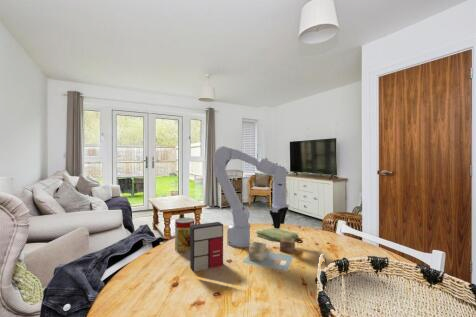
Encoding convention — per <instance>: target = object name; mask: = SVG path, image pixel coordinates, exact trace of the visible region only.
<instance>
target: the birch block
mask: <svg viewBox="0 0 476 317" xmlns="http://www.w3.org/2000/svg"><path fill="white" fill-rule="evenodd" d="M266 252H267V243H263V242H258V241H252V243H250V245H249V246H248V256H249V260H253V261H259V262H263V260H264V259H265V258H266Z"/></svg>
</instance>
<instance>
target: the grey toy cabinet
mask: <svg viewBox="0 0 476 317" xmlns="http://www.w3.org/2000/svg"><path fill="white" fill-rule="evenodd" d="M189 252H190V253H189V254H190V255H189V258H190V260H189V263H190V264H189V267H190V270H191V271H192V272H198V271H203V270H208V269H213V268H218V267H221V266H224V224H223V223H222V222H220V221H214V222H208V223H207V222H206V223H198V224H194V225H191V226H190V251H189Z"/></svg>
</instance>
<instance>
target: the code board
mask: <svg viewBox="0 0 476 317" xmlns="http://www.w3.org/2000/svg"><path fill="white" fill-rule="evenodd" d="M293 259H294V255H290V254H283V253H277V252H270V251H266V258H265V259H264V260H263V262H259V261H253V260H249V255H248V256H247V257H246V258H245V259H244V260H242V263H244V264H249V265H254V266H259V267H265V268H269V269H275V270H280V271H285V272H288V270H289V268H290V265H291V263H292V261H293Z"/></svg>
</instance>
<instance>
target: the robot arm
mask: <svg viewBox="0 0 476 317" xmlns="http://www.w3.org/2000/svg"><path fill="white" fill-rule="evenodd" d="M232 160H241V161H242V162H245V163H248V164H250V165H252V166H254V167H255V169H256V171H258V172H260V173H263V174H265V175H266V176H267V175H268V176H273V182H272V203H271V207H272V210H269V211H268V212H269V214H270V215H269V216H270V217H271V220H272V223H273V224H272V225H273V228H277V229H281V225H285V220H286V215H287V213H288V210H289V207H290V204H287V176H288V174H289V173H288V171H287V169H286V168H285V167H284V166H282V165H279V164H278V163H277V162H272V161H270V160H269V159H268V158H267V157H265V158H263V157H261V158H256V157H254V156H252V155H249V154H247V153H245V152H243V151H241V150H239V149H234V148H231V147H228V146H225V145H222V146H219V147H217V149H216V150H215V151H214V155H213V168H212V171H213V173H214V176H215V179H216V180H217V183H218V184H219V186H220V188H221V190H222V192H223V195H224V196H225V198H226V201H227V202H228V205H229V207H230V211H231V214H232V218H233V219H232V221H233V223H231V224H229V225H228V227H227V229H226V230H227V231H226V234H227V236H226V241H227V243H226V245H227V246H232V247H236V248H249V246H250V245H251V235H250V234H251V224H250V223H249V218H250V212H249V210H248V209H247V208H245V206H244V205H243V203H242V202H241V200H240V198H239V196H238V193H237V191H236V190H235V187H234V186H233V183H232V181H231V180H230V178H229V174H228V173H227V171H226V168H227V166H228V164H229V162H230V161H232Z"/></svg>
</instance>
